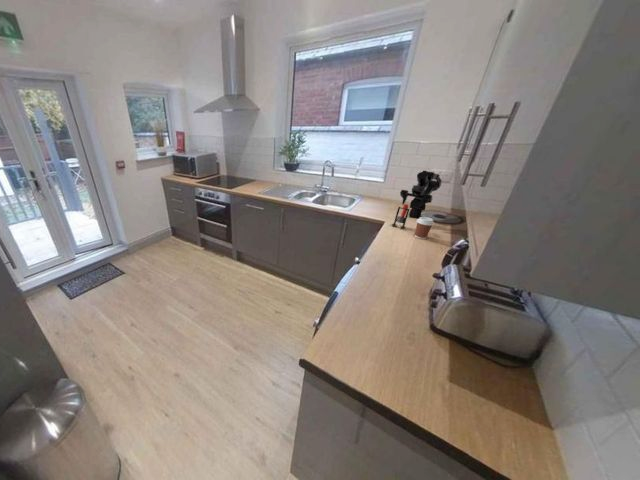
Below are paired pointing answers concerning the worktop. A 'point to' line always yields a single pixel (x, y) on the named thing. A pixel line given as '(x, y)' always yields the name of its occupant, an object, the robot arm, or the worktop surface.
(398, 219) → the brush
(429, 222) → the coffee cup
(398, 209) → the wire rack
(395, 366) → the worktop surface
